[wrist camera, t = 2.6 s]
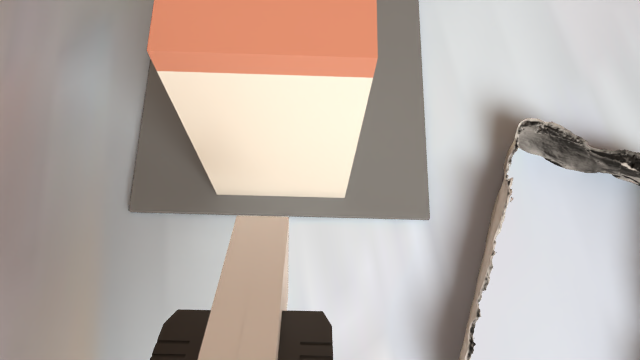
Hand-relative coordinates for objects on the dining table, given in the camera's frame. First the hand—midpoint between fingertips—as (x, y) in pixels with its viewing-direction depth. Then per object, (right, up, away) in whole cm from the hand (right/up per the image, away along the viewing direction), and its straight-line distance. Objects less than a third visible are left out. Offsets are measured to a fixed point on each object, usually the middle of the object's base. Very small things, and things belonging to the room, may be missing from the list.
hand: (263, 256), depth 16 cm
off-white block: (0, +4, +10) cm, 11 cm away
